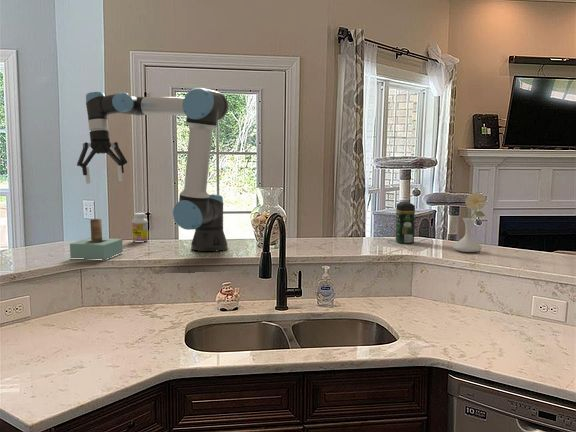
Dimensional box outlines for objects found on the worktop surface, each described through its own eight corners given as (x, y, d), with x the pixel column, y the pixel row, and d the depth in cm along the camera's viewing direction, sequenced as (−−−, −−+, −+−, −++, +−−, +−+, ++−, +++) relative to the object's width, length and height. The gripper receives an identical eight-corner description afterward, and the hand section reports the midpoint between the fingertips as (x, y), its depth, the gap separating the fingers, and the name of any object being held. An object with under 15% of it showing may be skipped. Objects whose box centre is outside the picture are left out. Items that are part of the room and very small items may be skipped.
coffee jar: (393, 240, 252) (395, 200, 250) (410, 240, 252) (412, 200, 250) (397, 244, 242) (399, 202, 240) (415, 244, 242) (417, 203, 240)
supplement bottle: (129, 242, 243) (128, 213, 241) (140, 240, 249) (139, 212, 247) (140, 243, 240) (140, 214, 238) (151, 241, 246) (150, 213, 244)
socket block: (122, 253, 216) (122, 239, 215) (104, 261, 202) (104, 245, 202) (90, 252, 219) (90, 237, 218) (70, 259, 205) (69, 243, 204)
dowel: (104, 254, 212) (103, 218, 210) (99, 256, 208) (97, 220, 207) (95, 254, 213) (93, 218, 211) (89, 256, 209) (88, 219, 207)
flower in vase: (447, 251, 227) (450, 191, 224) (462, 248, 234) (465, 190, 231) (475, 255, 217) (479, 193, 214) (490, 252, 224) (494, 192, 221)
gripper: (124, 132, 233) (129, 181, 234) (64, 132, 218) (71, 185, 218) (131, 129, 228) (137, 179, 228) (71, 129, 212) (77, 183, 213)
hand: (104, 182), depth 223 cm, fingers open, 13 cm apart
